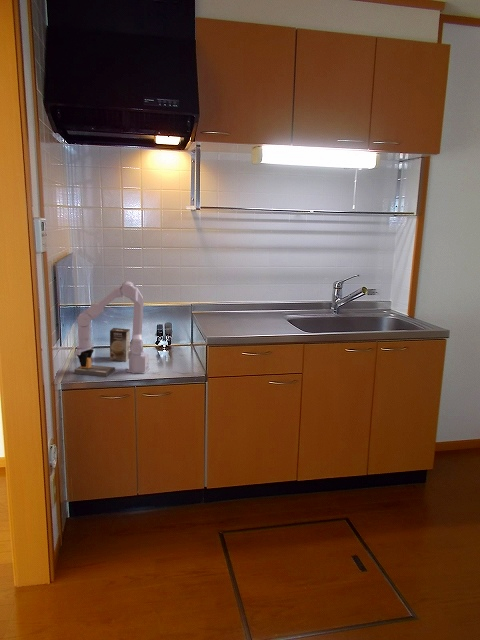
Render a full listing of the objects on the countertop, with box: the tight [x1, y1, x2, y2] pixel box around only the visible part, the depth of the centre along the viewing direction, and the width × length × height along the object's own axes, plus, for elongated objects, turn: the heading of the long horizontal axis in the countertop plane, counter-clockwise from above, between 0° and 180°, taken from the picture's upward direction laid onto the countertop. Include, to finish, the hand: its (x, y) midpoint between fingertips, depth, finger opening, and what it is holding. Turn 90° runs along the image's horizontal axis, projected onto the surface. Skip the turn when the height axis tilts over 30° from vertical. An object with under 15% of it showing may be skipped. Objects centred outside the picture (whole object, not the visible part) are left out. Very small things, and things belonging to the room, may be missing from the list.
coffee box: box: [109, 327, 131, 362], centre depth 264 cm, size 9×6×16 cm
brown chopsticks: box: [91, 364, 116, 371], centre depth 249 cm, size 16×2×1 cm, turn 80°
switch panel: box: [74, 365, 114, 378], centre depth 243 cm, size 16×8×2 cm, turn 80°
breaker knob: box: [80, 357, 92, 369], centre depth 243 cm, size 4×3×4 cm
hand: (85, 365), depth 243 cm, fingers closed on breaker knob, 3 cm apart
